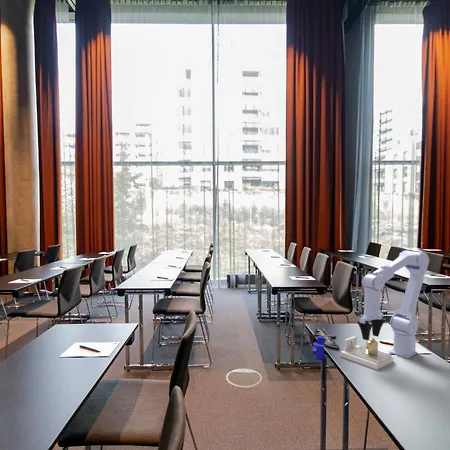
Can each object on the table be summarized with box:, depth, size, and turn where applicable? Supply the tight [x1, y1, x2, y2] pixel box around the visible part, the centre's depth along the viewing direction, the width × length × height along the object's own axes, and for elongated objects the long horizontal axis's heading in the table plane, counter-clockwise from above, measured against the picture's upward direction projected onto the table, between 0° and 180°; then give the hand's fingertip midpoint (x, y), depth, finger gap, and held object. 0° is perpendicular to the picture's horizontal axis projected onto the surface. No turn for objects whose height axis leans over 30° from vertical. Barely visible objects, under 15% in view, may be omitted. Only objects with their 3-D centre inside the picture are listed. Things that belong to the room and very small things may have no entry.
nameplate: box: [313, 327, 340, 351], centre depth 176 cm, size 27×2×10 cm
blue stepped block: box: [312, 336, 325, 362], centre depth 157 cm, size 12×4×6 cm, turn 165°
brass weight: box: [365, 337, 379, 356], centre depth 151 cm, size 4×4×6 cm
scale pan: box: [349, 345, 392, 363], centre depth 152 cm, size 10×13×1 cm
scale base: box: [339, 335, 394, 370], centre depth 153 cm, size 13×16×6 cm
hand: (370, 337), depth 152 cm, fingers open, 7 cm apart
